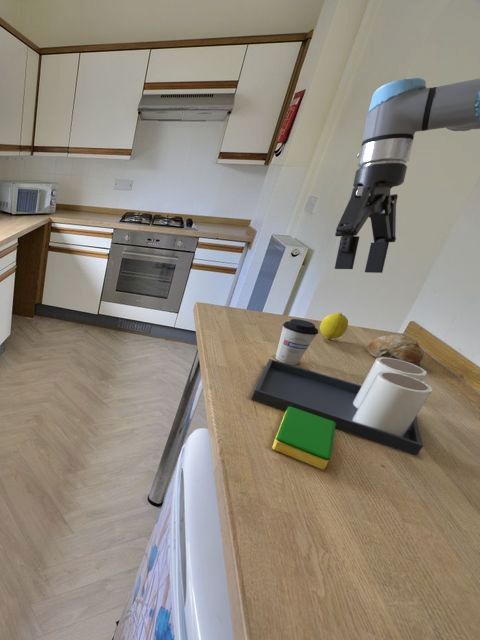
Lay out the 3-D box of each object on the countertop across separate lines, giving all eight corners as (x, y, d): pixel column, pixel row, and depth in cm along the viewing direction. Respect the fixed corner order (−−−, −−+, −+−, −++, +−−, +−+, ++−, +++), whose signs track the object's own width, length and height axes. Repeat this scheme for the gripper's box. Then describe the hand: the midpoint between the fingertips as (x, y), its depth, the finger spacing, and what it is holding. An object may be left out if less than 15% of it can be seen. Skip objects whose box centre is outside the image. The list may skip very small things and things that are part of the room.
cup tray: (407, 409, 83) (412, 400, 82) (416, 456, 69) (423, 446, 68) (266, 366, 97) (269, 358, 96) (251, 399, 84) (255, 389, 83)
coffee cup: (270, 351, 105) (285, 315, 101) (303, 359, 102) (320, 322, 97) (269, 360, 100) (284, 323, 96) (304, 369, 96) (322, 331, 92)
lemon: (322, 342, 112) (335, 315, 108) (310, 334, 117) (322, 308, 113) (345, 344, 111) (358, 317, 108) (332, 336, 116) (344, 310, 113)
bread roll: (359, 366, 107) (371, 345, 102) (367, 341, 112) (380, 320, 106) (411, 381, 101) (427, 359, 96) (417, 353, 106) (434, 332, 100)
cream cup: (398, 409, 81) (425, 365, 77) (400, 425, 76) (429, 379, 72) (352, 396, 85) (375, 353, 81) (352, 409, 81) (376, 365, 76)
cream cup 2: (401, 427, 76) (430, 381, 71) (404, 445, 71) (435, 396, 67) (352, 412, 80) (376, 367, 76) (352, 427, 75) (378, 380, 71)
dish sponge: (271, 449, 69) (276, 437, 68) (284, 415, 79) (288, 405, 78) (323, 470, 65) (330, 458, 64) (330, 432, 74) (336, 421, 73)
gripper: (383, 178, 93) (363, 273, 96) (328, 159, 82) (307, 267, 85) (431, 172, 86) (407, 274, 90) (378, 150, 75) (353, 267, 79)
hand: (358, 271), depth 87 cm, fingers open, 13 cm apart
